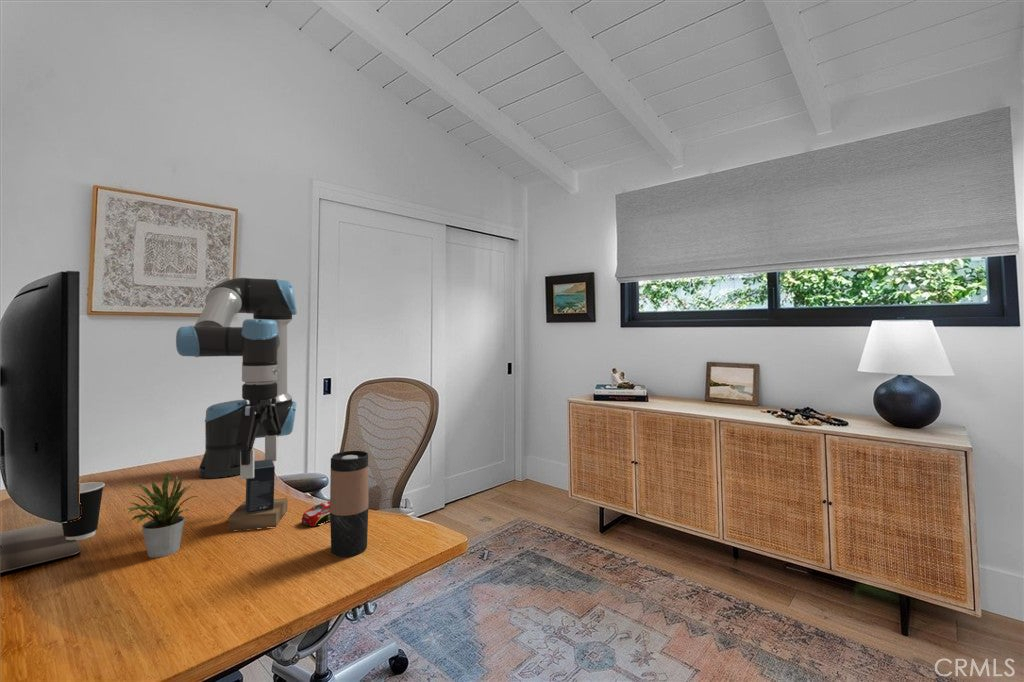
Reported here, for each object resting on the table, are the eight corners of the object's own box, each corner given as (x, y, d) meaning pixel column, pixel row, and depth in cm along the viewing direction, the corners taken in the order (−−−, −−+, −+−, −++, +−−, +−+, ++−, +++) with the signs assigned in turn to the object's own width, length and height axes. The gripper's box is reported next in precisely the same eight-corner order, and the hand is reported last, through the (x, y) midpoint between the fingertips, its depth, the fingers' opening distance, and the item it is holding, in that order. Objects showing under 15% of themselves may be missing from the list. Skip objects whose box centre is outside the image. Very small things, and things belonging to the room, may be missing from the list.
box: (274, 509, 107) (275, 465, 107) (246, 514, 104) (247, 469, 104) (271, 499, 113) (271, 458, 113) (245, 503, 110) (246, 461, 110)
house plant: (117, 547, 94) (117, 471, 94) (197, 530, 103) (197, 459, 103) (114, 575, 83) (114, 488, 83) (203, 552, 92) (204, 474, 92)
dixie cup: (114, 529, 103) (114, 481, 103) (80, 544, 96) (80, 493, 96) (80, 528, 104) (80, 481, 104) (44, 544, 96) (44, 493, 96)
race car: (347, 508, 118) (347, 493, 118) (359, 513, 114) (359, 497, 114) (298, 524, 107) (298, 507, 107) (310, 530, 104) (310, 513, 104)
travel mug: (376, 546, 95) (376, 453, 95) (346, 561, 89) (346, 461, 89) (351, 538, 99) (352, 448, 99) (321, 552, 93) (322, 456, 93)
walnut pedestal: (244, 516, 112) (244, 501, 112) (287, 513, 114) (287, 498, 114) (228, 534, 102) (228, 516, 102) (276, 530, 105) (276, 513, 105)
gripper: (254, 389, 96) (253, 485, 97) (294, 377, 121) (294, 454, 122) (216, 389, 95) (216, 487, 96) (264, 377, 120) (264, 454, 121)
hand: (259, 468), depth 109 cm, fingers open, 13 cm apart
